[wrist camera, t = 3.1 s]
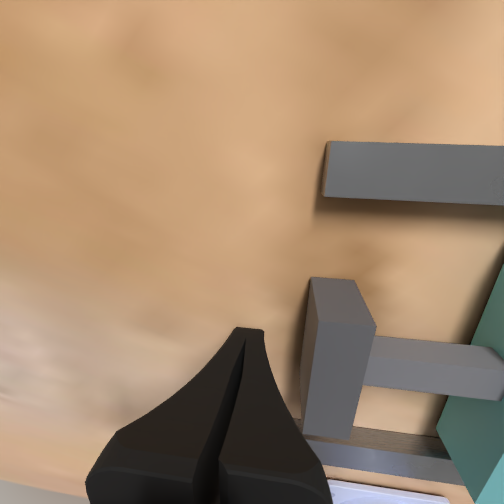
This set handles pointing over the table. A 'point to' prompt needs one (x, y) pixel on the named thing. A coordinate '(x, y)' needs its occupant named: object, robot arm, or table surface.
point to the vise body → (406, 189)
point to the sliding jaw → (407, 378)
